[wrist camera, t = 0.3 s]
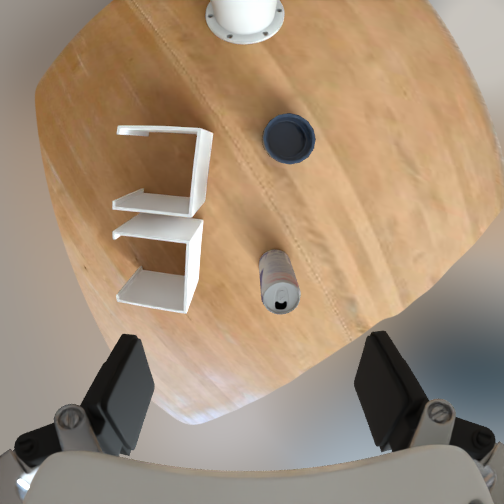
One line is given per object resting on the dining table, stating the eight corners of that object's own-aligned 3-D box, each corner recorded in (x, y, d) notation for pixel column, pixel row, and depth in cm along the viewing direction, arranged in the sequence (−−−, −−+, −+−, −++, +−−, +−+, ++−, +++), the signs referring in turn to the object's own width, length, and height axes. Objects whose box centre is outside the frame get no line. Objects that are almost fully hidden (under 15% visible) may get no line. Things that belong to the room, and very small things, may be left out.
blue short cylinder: (252, 133, 40) (253, 131, 36) (290, 109, 39) (295, 104, 34) (279, 171, 43) (283, 173, 38) (316, 146, 41) (324, 146, 36)
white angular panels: (198, 279, 49) (186, 313, 39) (140, 271, 48) (116, 301, 38) (213, 133, 40) (201, 128, 30) (147, 129, 40) (117, 125, 29)
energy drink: (258, 277, 49) (261, 315, 38) (259, 248, 47) (261, 281, 36) (289, 277, 49) (299, 315, 38) (290, 248, 47) (303, 280, 36)
